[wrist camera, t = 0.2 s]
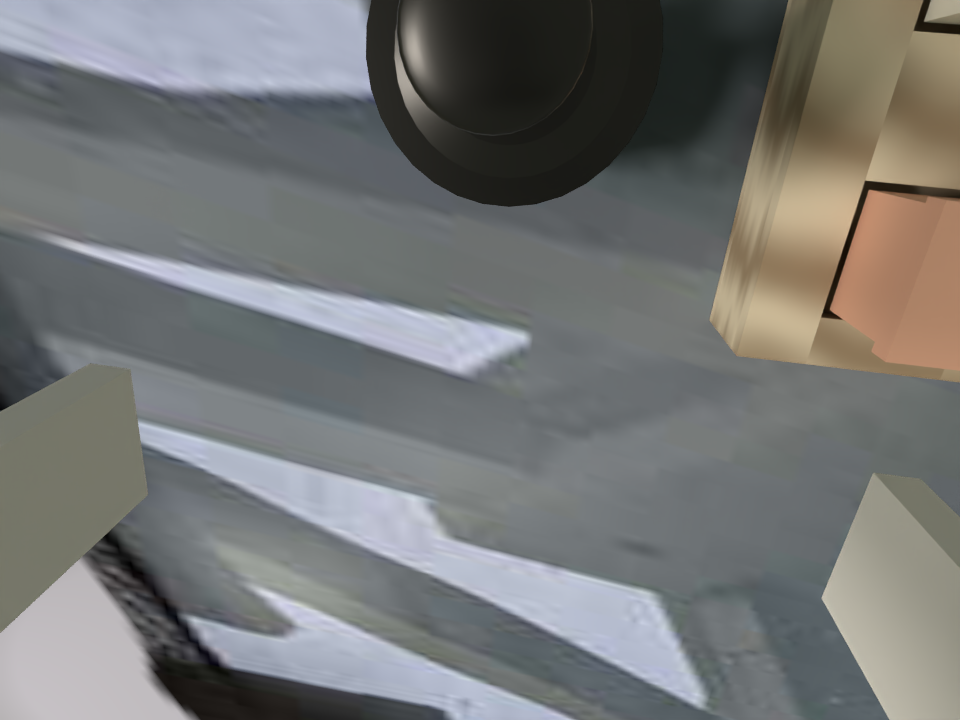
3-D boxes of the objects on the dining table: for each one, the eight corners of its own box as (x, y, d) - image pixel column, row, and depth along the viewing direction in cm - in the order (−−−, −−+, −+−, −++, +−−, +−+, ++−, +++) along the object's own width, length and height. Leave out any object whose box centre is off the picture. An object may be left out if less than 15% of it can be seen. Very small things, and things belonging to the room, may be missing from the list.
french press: (641, 141, 34) (786, 186, 13) (489, 205, 36) (402, 332, 15) (570, -86, 30) (612, -539, 9) (407, 1, 33) (141, -205, 12)
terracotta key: (864, 182, 28) (946, 200, 22) (1011, 196, 28) (1134, 218, 22) (822, 314, 31) (885, 362, 25) (955, 329, 30) (1052, 381, 25)
